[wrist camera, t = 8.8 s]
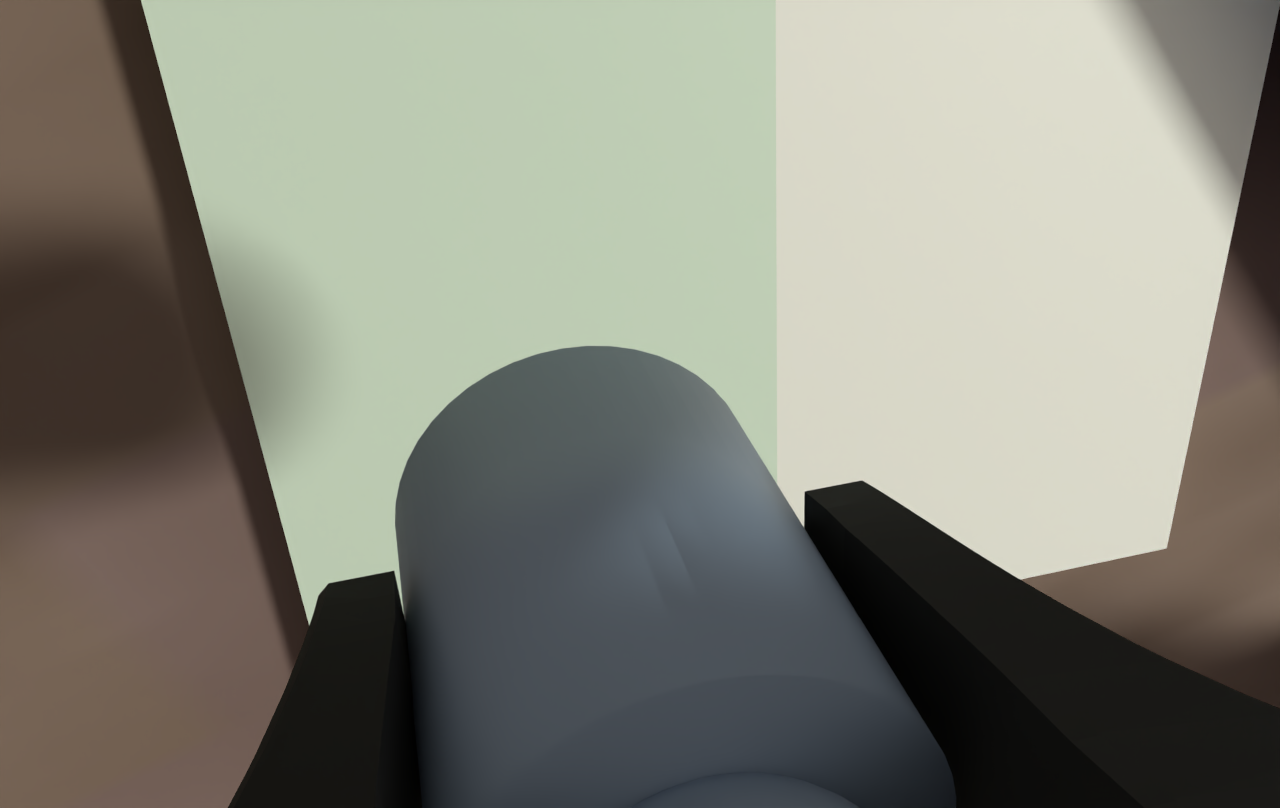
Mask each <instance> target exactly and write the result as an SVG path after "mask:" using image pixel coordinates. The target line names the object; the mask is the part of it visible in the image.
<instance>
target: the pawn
mask: <svg viewBox="0 0 1280 808" xmlns="http://www.w3.org/2000/svg"><path fill="white" fill-rule="evenodd" d="M395 529H396V540H397V550H398V561H399V571H400V581H401V592H402V602H403V613H404V618H405V624H406V634H407V645H408V655H409V665H410V676H411V686H412V697H413V716H414V727H415V737H416V747H417V758H418V768H419V779H420V789H421V799H422V808H956V793H955V787H954V781H953V775H952V772H951V770H950V767H949V765H948V762H947V759H946V757H945V754H944V753H943V751H942V749H941V748H940V746H939V745H938V743H937V741H936V740H935V738H934V737H933V735H932V733H931V732H930V730H929V728H928V727H927V725H926V724H925V722H924V720H923V719H922V717H921V716H920V714H919V712H918V711H917V709H916V708H915V706H914V704H913V703H912V701H911V699H910V698H909V696H908V695H907V693H906V691H905V690H904V688H903V687H902V685H901V683H900V682H899V680H898V679H897V677H896V675H895V674H894V672H893V670H892V669H891V667H890V666H889V664H888V662H887V661H886V659H885V658H884V656H883V654H882V653H881V651H880V649H879V648H878V646H877V645H876V643H875V641H874V640H873V638H872V637H871V635H870V633H869V632H868V630H867V629H866V627H865V625H864V624H863V622H862V620H861V619H860V617H859V616H858V614H857V612H856V611H855V609H854V608H853V606H852V604H851V603H850V601H849V600H848V598H847V596H846V595H845V593H844V591H843V590H842V588H841V587H840V585H839V583H838V582H837V580H836V579H835V577H834V575H833V574H832V572H831V571H830V569H829V567H828V566H827V564H826V562H825V561H824V559H823V558H822V556H821V554H820V553H819V551H818V550H817V548H816V546H815V545H814V543H813V541H812V540H811V538H810V537H809V535H808V533H807V532H806V530H805V529H804V527H803V525H802V524H801V522H800V521H799V519H798V517H797V516H796V514H795V512H794V511H793V509H792V508H791V506H790V504H789V503H788V501H787V500H786V498H785V496H784V495H783V493H782V492H781V490H780V488H779V487H778V485H777V483H776V482H775V480H774V479H773V477H772V475H771V474H770V472H769V471H768V469H767V467H766V466H765V464H764V463H763V461H762V459H761V458H760V456H759V454H758V453H757V451H756V450H755V448H754V446H753V445H752V443H751V442H750V440H749V438H748V437H747V435H746V434H745V432H744V430H743V429H742V427H741V425H740V424H739V422H738V421H737V419H736V417H735V416H734V414H733V413H732V411H731V410H730V408H729V407H728V405H727V404H726V402H725V401H724V400H723V399H722V398H721V397H720V396H719V395H718V393H717V392H716V391H715V390H714V389H713V388H712V387H711V386H709V385H708V384H707V383H706V382H705V381H703V380H702V379H701V378H700V377H698V376H697V375H696V374H694V373H692V372H691V371H689V370H687V369H686V368H684V367H682V366H681V365H679V364H677V363H674V362H672V361H670V360H667V359H665V358H663V357H660V356H658V355H654V354H650V353H647V352H643V351H639V350H636V349H628V348H621V347H614V346H581V347H571V348H562V349H557V350H553V351H548V352H544V353H540V354H536V355H533V356H530V357H527V358H524V359H521V360H519V361H516V362H513V363H511V364H509V365H507V366H505V367H503V368H500V369H498V370H496V371H494V372H492V373H490V374H488V375H487V376H485V377H484V378H482V379H481V380H479V381H478V382H476V383H474V384H473V385H471V386H470V387H468V388H467V389H466V390H464V391H463V392H462V393H461V394H460V395H458V396H457V397H456V398H455V399H454V400H452V401H451V402H450V403H449V404H448V405H447V406H446V407H445V408H444V409H443V410H442V411H441V412H440V413H439V414H438V415H437V416H436V418H435V419H434V420H433V421H432V422H431V423H430V425H429V426H428V427H427V429H426V430H425V432H424V433H423V434H422V436H421V437H420V439H419V440H418V441H417V443H416V445H415V447H414V449H413V451H412V453H411V455H410V457H409V458H408V460H407V463H406V466H405V468H404V471H403V474H402V477H401V480H400V483H399V488H398V493H397V498H396V507H395Z"/></svg>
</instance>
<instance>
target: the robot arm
mask: <svg viewBox="0 0 1280 808" xmlns="http://www.w3.org/2000/svg"><path fill="white" fill-rule="evenodd" d="M804 529H805V530H806V532H807V533H808V535H809V537H810V538H811V540H812V541H813V543H814V545H815V546H816V548H817V550H818V551H819V553H820V554H821V556H822V558H823V559H824V561H825V562H826V564H827V566H828V567H829V569H830V571H831V572H832V574H833V575H834V577H835V579H836V580H837V582H838V583H839V585H840V587H841V588H842V590H843V591H844V593H845V595H846V596H847V598H848V600H849V601H850V603H851V604H852V606H853V608H854V609H855V611H856V612H857V614H858V616H859V617H860V619H861V620H862V622H863V624H864V625H865V627H866V629H867V630H868V632H869V633H870V635H871V637H872V638H873V640H874V641H875V643H876V645H877V646H878V648H879V649H880V651H881V653H882V654H883V656H884V658H885V659H886V661H887V662H888V664H889V666H890V667H891V669H892V670H893V672H894V674H895V675H896V677H897V679H898V680H899V682H900V683H901V685H902V687H903V688H904V690H905V691H906V693H907V695H908V696H909V698H910V699H911V701H912V703H913V704H914V706H915V708H916V709H917V711H918V712H919V714H920V716H921V717H922V719H923V720H924V722H925V724H926V725H927V727H928V728H929V730H930V732H931V733H932V735H933V737H934V738H935V740H936V741H937V743H938V745H939V746H940V748H941V749H942V751H943V753H944V754H945V757H946V759H947V762H948V765H949V767H950V770H951V772H952V775H953V781H954V787H955V793H956V808H1280V709H1279V708H1277V707H1274V706H1272V705H1269V704H1267V703H1265V702H1262V701H1260V700H1257V699H1255V698H1252V697H1250V696H1247V695H1245V694H1243V693H1240V692H1238V691H1236V690H1234V689H1231V688H1229V687H1227V686H1225V685H1223V684H1220V683H1218V682H1216V681H1214V680H1212V679H1209V678H1207V677H1205V676H1203V675H1201V674H1198V673H1196V672H1194V671H1192V670H1190V669H1187V668H1185V667H1183V666H1181V665H1179V664H1176V663H1174V662H1172V661H1170V660H1168V659H1166V658H1163V657H1161V656H1159V655H1157V654H1155V653H1153V652H1151V651H1149V650H1147V649H1145V648H1143V647H1141V646H1139V645H1137V644H1135V643H1133V642H1131V641H1129V640H1127V639H1126V638H1124V637H1122V636H1120V635H1118V634H1116V633H1114V632H1113V631H1111V630H1109V629H1107V628H1105V627H1103V626H1101V625H1099V624H1098V623H1096V622H1094V621H1092V620H1090V619H1088V618H1086V617H1085V616H1083V615H1081V614H1079V613H1077V612H1075V611H1073V610H1072V609H1070V608H1068V607H1066V606H1065V605H1063V604H1061V603H1059V602H1058V601H1056V600H1054V599H1052V598H1051V597H1049V596H1047V595H1045V594H1044V593H1042V592H1040V591H1038V590H1037V589H1035V588H1033V587H1032V586H1030V585H1028V584H1027V583H1025V582H1023V581H1022V580H1020V579H1018V578H1017V577H1015V576H1013V575H1012V574H1010V573H1008V572H1007V571H1005V570H1003V569H1002V568H1000V567H999V566H997V565H995V564H994V563H992V562H990V561H989V560H987V559H986V558H984V557H982V556H981V555H979V554H978V553H976V552H974V551H973V550H971V549H970V548H968V547H967V546H965V545H963V544H962V543H960V542H959V541H957V540H956V539H954V538H952V537H951V536H949V535H948V534H946V533H945V532H943V531H942V530H940V529H938V528H937V527H935V526H934V525H932V524H931V523H929V522H928V521H926V520H925V519H923V518H921V517H920V516H918V515H917V514H915V513H914V512H912V511H911V510H909V509H908V508H906V507H904V506H903V505H901V504H900V503H898V502H897V501H895V500H894V499H892V498H890V497H889V496H887V495H886V494H884V493H882V492H881V491H879V490H878V489H876V488H874V487H873V486H871V485H869V484H868V483H866V482H864V481H862V480H861V481H856V482H851V483H846V484H841V485H835V486H830V487H825V488H820V489H815V490H809V491H805V496H804ZM228 808H422V799H421V789H420V779H419V768H418V758H417V747H416V737H415V727H414V716H413V697H412V686H411V676H410V665H409V655H408V645H407V634H406V624H405V618H404V614H403V609H402V604H401V600H400V595H399V590H398V586H397V581H396V576H395V572H394V571H390V572H384V573H379V574H374V575H369V576H364V577H358V578H353V579H348V580H343V581H338V582H333V583H328V584H327V586H326V587H325V588H324V589H323V591H322V592H321V593H320V594H319V595H318V599H317V602H316V606H315V610H314V613H313V616H312V619H311V622H310V625H309V628H308V631H307V634H306V637H305V640H304V643H303V645H302V648H301V651H300V653H299V656H298V659H297V661H296V664H295V666H294V669H293V671H292V673H291V676H290V678H289V681H288V683H287V686H286V688H285V691H284V693H283V695H282V698H281V700H280V702H279V704H278V706H277V709H276V711H275V713H274V715H273V717H272V720H271V722H270V724H269V726H268V728H267V731H266V733H265V735H264V737H263V739H262V742H261V744H260V746H259V748H258V750H257V753H256V755H255V757H254V759H253V761H252V763H251V765H250V767H249V769H248V771H247V773H246V775H245V777H244V778H243V780H242V782H241V784H240V786H239V788H238V790H237V792H236V793H235V795H234V797H233V799H232V801H231V803H230V805H229V807H228Z"/></svg>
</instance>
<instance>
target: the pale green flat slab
mask: <svg viewBox="0 0 1280 808" xmlns="http://www.w3.org/2000/svg"><path fill="white" fill-rule="evenodd" d="M141 2H142V6H143V10H144V13H145V17H146V21H147V25H148V28H149V32H150V36H151V39H152V43H153V47H154V51H155V54H156V58H157V62H158V65H159V69H160V73H161V77H162V80H163V84H164V88H165V91H166V95H167V99H168V103H169V106H170V110H171V114H172V117H173V121H174V125H175V129H176V132H177V136H178V140H179V143H180V147H181V151H182V155H183V158H184V162H185V166H186V170H187V173H188V177H189V181H190V184H191V188H192V192H193V196H194V199H195V203H196V207H197V210H198V214H199V218H200V222H201V225H202V229H203V233H204V236H205V240H206V244H207V248H208V251H209V255H210V259H211V262H212V266H213V270H214V274H215V277H216V281H217V285H218V288H219V292H220V296H221V300H222V303H223V307H224V311H225V315H226V318H227V322H228V326H229V329H230V333H231V337H232V341H233V344H234V348H235V352H236V355H237V359H238V363H239V367H240V370H241V374H242V378H243V381H244V385H245V389H246V393H247V396H248V400H249V404H250V407H251V411H252V415H253V419H254V422H255V426H256V430H257V433H258V437H259V441H260V445H261V448H262V452H263V456H264V460H265V463H266V467H267V471H268V474H269V478H270V482H271V486H272V489H273V493H274V497H275V500H276V504H277V508H278V512H279V515H280V519H281V523H282V526H283V530H284V534H285V538H286V541H287V545H288V549H289V552H290V556H291V560H292V564H293V567H294V571H295V575H296V578H297V582H298V586H299V590H300V593H301V597H302V601H303V605H304V608H305V612H306V616H307V619H308V623H309V625H310V622H311V619H312V616H313V613H314V610H315V606H316V602H317V599H318V595H319V594H320V593H321V592H322V591H323V589H324V588H325V587H326V586H327V584H328V583H333V582H338V581H343V580H348V579H353V578H358V577H364V576H369V575H374V574H379V573H384V572H390V571H394V572H395V576H396V581H397V586H398V590H399V595H400V600H401V604H402V609H403V602H402V592H401V581H400V571H399V561H398V550H397V540H396V529H395V507H396V498H397V493H398V488H399V483H400V480H401V477H402V474H403V471H404V468H405V466H406V463H407V460H408V458H409V457H410V455H411V453H412V451H413V449H414V447H415V445H416V443H417V441H418V440H419V439H420V437H421V436H422V434H423V433H424V432H425V430H426V429H427V427H428V426H429V425H430V423H431V422H432V421H433V420H434V419H435V418H436V416H437V415H438V414H439V413H440V412H441V411H442V410H443V409H444V408H445V407H446V406H447V405H448V404H449V403H450V402H451V401H452V400H454V399H455V398H456V397H457V396H458V395H460V394H461V393H462V392H463V391H464V390H466V389H467V388H468V387H470V386H471V385H473V384H474V383H476V382H478V381H479V380H481V379H482V378H484V377H485V376H487V375H488V374H490V373H492V372H494V371H496V370H498V369H500V368H503V367H505V366H507V365H509V364H511V363H513V362H516V361H519V360H521V359H524V358H527V357H530V356H533V355H536V354H540V353H544V352H548V351H553V350H557V349H562V348H571V347H581V346H614V347H621V348H628V349H636V350H639V351H643V352H647V353H650V354H654V355H658V356H660V357H663V358H665V359H667V360H670V361H672V362H674V363H677V364H679V365H681V366H682V367H684V368H686V369H687V370H689V371H691V372H692V373H694V374H696V375H697V376H698V377H700V378H701V379H702V380H703V381H705V382H706V383H707V384H708V385H709V386H711V387H712V388H713V389H714V390H715V391H716V392H717V393H718V395H719V396H720V397H721V398H722V399H723V400H724V401H725V402H726V404H727V405H728V407H729V408H730V410H731V411H732V413H733V414H734V416H735V417H736V419H737V421H738V422H739V424H740V425H741V427H742V429H743V430H744V432H745V434H746V435H747V437H748V438H749V440H750V442H751V443H752V445H753V446H754V448H755V450H756V451H757V453H758V454H759V456H760V458H761V459H762V461H763V463H764V464H765V466H766V467H767V469H768V471H769V472H770V474H771V475H772V477H773V479H774V480H775V482H776V483H777V485H778V487H779V488H780V490H781V492H782V493H783V495H784V496H785V498H786V500H787V501H788V503H789V504H790V506H791V508H792V509H793V511H794V512H795V514H796V516H797V517H798V519H799V521H800V522H801V524H802V525H803V527H804V496H805V491H809V490H815V489H820V488H825V487H830V486H835V485H841V484H846V483H851V482H856V481H861V480H862V481H864V482H866V483H868V484H869V485H871V486H873V487H874V488H876V489H878V490H879V491H881V492H882V493H884V494H886V495H887V496H889V497H890V498H892V499H894V500H895V501H897V502H898V503H900V504H901V505H903V506H904V507H906V508H908V509H909V510H911V511H912V512H914V513H915V514H917V515H918V516H920V517H921V518H923V519H925V520H926V521H928V522H929V523H931V524H932V525H934V526H935V527H937V528H938V529H940V530H942V531H943V532H945V533H946V534H948V535H949V536H951V537H952V538H954V539H956V540H957V541H959V542H960V543H962V544H963V545H965V546H967V547H968V548H970V549H971V550H973V551H974V552H976V553H978V554H979V555H981V556H982V557H984V558H986V559H987V560H989V561H990V562H992V563H994V564H995V565H997V566H999V567H1000V568H1002V569H1003V570H1005V571H1007V572H1008V573H1010V574H1012V575H1013V576H1015V577H1017V578H1018V579H1025V578H1029V577H1034V576H1039V575H1044V574H1048V573H1053V572H1058V571H1062V570H1067V569H1072V568H1077V567H1081V566H1086V565H1091V564H1095V563H1100V562H1105V561H1109V560H1114V559H1119V558H1124V557H1128V556H1133V555H1138V554H1142V553H1147V552H1152V551H1157V550H1161V549H1166V548H1167V544H1168V539H1169V534H1170V530H1171V525H1172V520H1173V515H1174V510H1175V506H1176V501H1177V496H1178V491H1179V486H1180V482H1181V477H1182V472H1183V467H1184V462H1185V458H1186V453H1187V448H1188V443H1189V438H1190V434H1191V429H1192V424H1193V419H1194V414H1195V410H1196V405H1197V400H1198V395H1199V390H1200V386H1201V381H1202V376H1203V371H1204V367H1205V362H1206V357H1207V352H1208V347H1209V343H1210V338H1211V333H1212V328H1213V323H1214V319H1215V314H1216V309H1217V304H1218V299H1219V295H1220V290H1221V285H1222V280H1223V275H1224V271H1225V266H1226V261H1227V256H1228V251H1229V247H1230V242H1231V237H1232V232H1233V228H1234V223H1235V218H1236V213H1237V208H1238V204H1239V199H1240V194H1241V189H1242V184H1243V180H1244V175H1245V170H1246V165H1247V160H1248V156H1249V151H1250V146H1251V141H1252V136H1253V132H1254V127H1255V122H1256V117H1257V112H1258V108H1259V103H1260V98H1261V93H1262V88H1263V84H1264V79H1265V74H1266V69H1267V65H1268V60H1269V55H1270V50H1271V45H1272V41H1273V36H1274V31H1275V26H1276V21H1277V17H1278V12H1279V7H1280V0H141ZM403 614H404V613H403Z"/></svg>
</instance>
